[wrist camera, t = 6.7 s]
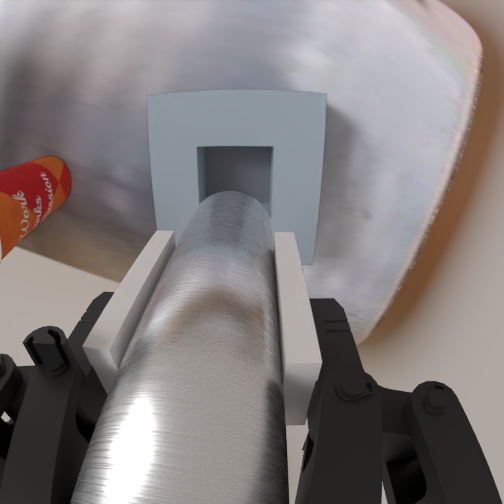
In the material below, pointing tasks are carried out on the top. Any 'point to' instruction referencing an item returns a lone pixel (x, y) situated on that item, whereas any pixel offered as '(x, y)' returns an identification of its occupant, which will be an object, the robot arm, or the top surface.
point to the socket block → (239, 156)
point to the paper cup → (30, 197)
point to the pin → (200, 376)
